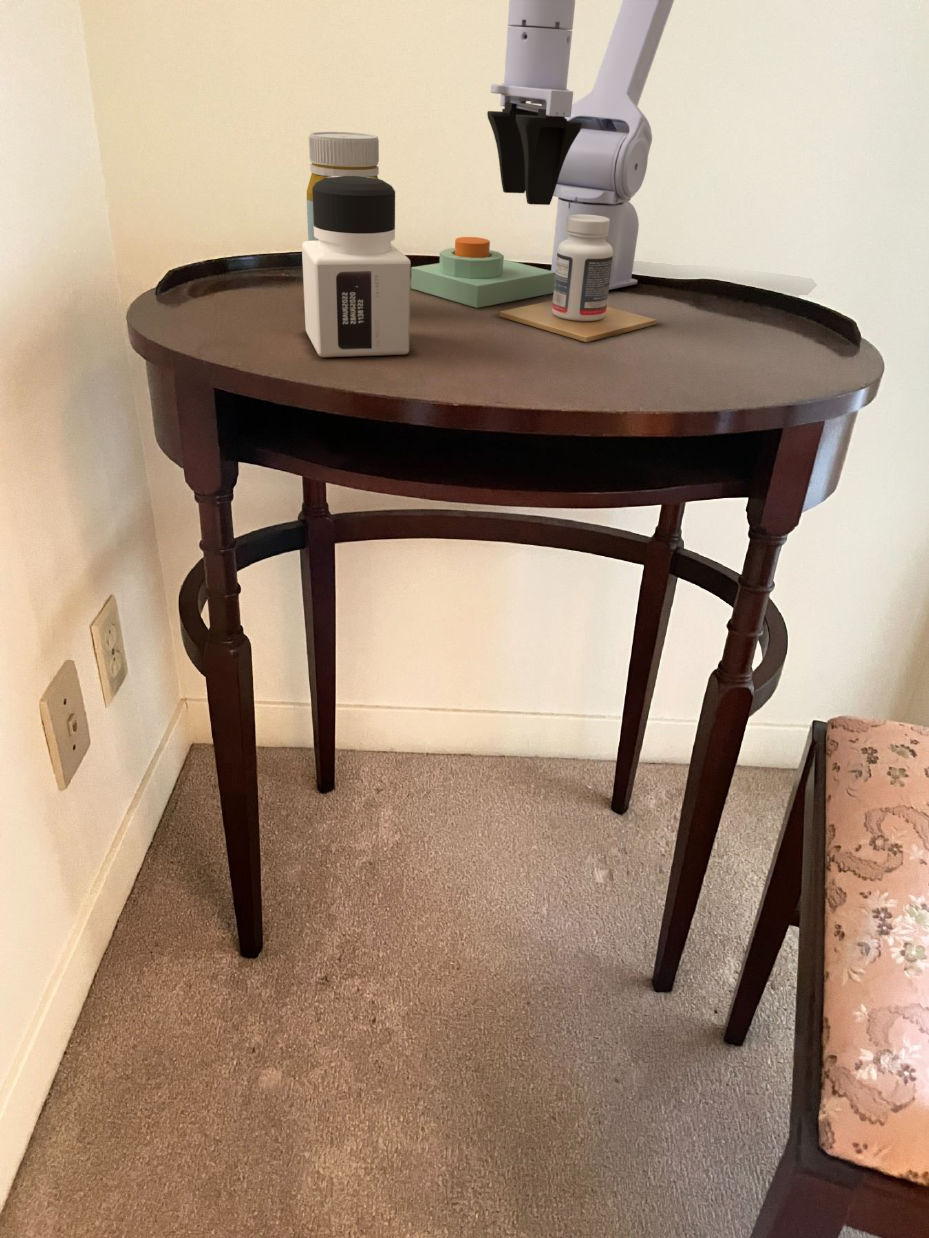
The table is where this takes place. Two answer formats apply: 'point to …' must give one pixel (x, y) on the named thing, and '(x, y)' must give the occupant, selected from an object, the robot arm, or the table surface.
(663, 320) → the table surface
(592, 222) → the pill bottle
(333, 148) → the bottle
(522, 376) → the table surface
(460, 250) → the orange button cap
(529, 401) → the table surface
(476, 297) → the base
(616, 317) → the coaster
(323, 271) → the container
